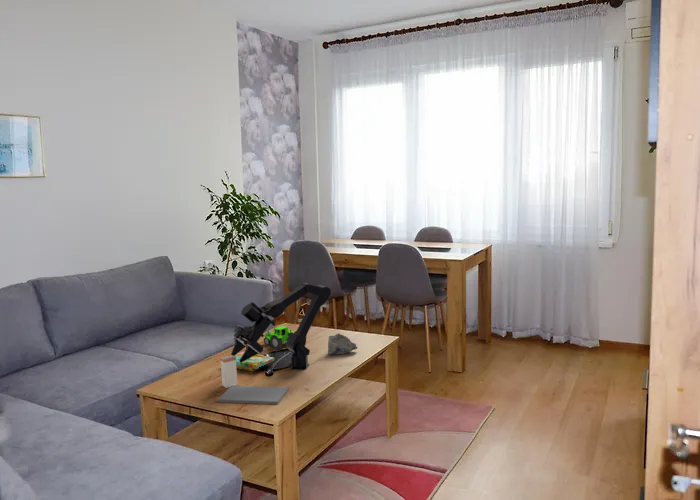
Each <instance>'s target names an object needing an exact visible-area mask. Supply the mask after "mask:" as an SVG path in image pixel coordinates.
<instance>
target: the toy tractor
mask: <svg viewBox="0 0 700 500" xmlns="http://www.w3.org/2000/svg"><path fill="white" fill-rule="evenodd" d="M290 332H292V333H294V331H292V329H289V327H288V326H285V325H279V326H277V327H275V328H274V331H273V332H272V331H270V329H269V328H267V329H266V333H265V334H264V337H263V344H264V345H265V346H271V347H272V349H274V350H279V349H281V348H282V347H283V345H284V344H285V345H286V343H287V340H286V339H287V338H288V337H289V334H290Z"/></svg>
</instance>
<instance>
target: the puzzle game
mask: <svg viewBox="0 0 700 500" xmlns="http://www.w3.org/2000/svg"><path fill="white" fill-rule="evenodd" d="M244 352H245V351H240V352H239V353H237V354H236V355H235V357H236V369H240V370H244V371H249V372H254V371H257V370H259V369H260V368H259V367H261V366H263V367H265V366H267V365H268V364H270V363H272V362H274V361H275V357H271V356H266V355H262V354H257V355H255V356H252V357H251V358H249V359H247V360H245V361H243V362H242V363H241V362H239V360H240V359H241V357H242V355H243V354H244ZM266 364H267V365H266ZM264 365H265V366H264ZM261 368H262V367H261Z"/></svg>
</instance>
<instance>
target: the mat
mask: <svg viewBox="0 0 700 500" xmlns="http://www.w3.org/2000/svg"><path fill="white" fill-rule="evenodd" d="M288 391H289V386H288V387H287V386H286V387H283V386H256V385H254V386H253V385H252V386H251V385H250V386H249V385H236V386H231V387H228V388H227V390H226V391H225V392H223V394H222V395H220V396H219V398H218V399H217V402H218V403H232V404H233V403H234V404H235V403H237V404H263V405H264V404H266V405H268V404H269V405H279V404H280V402H282V400H283V398H284V397H285V395H286V394H287V393H288Z"/></svg>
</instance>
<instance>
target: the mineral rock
mask: <svg viewBox="0 0 700 500" xmlns="http://www.w3.org/2000/svg"><path fill="white" fill-rule="evenodd" d="M357 349H358V346H357V343H355V342H352V341H351V339H350V338H349V337H347V336H346V335H344V334H341V333H340V332H338V333H335V335H329V336H328V343H327V355H329V356H334V355H341V354H342V355H344V354H347V353H350V352H352V351H353V350H354V351H355V350H357Z"/></svg>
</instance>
